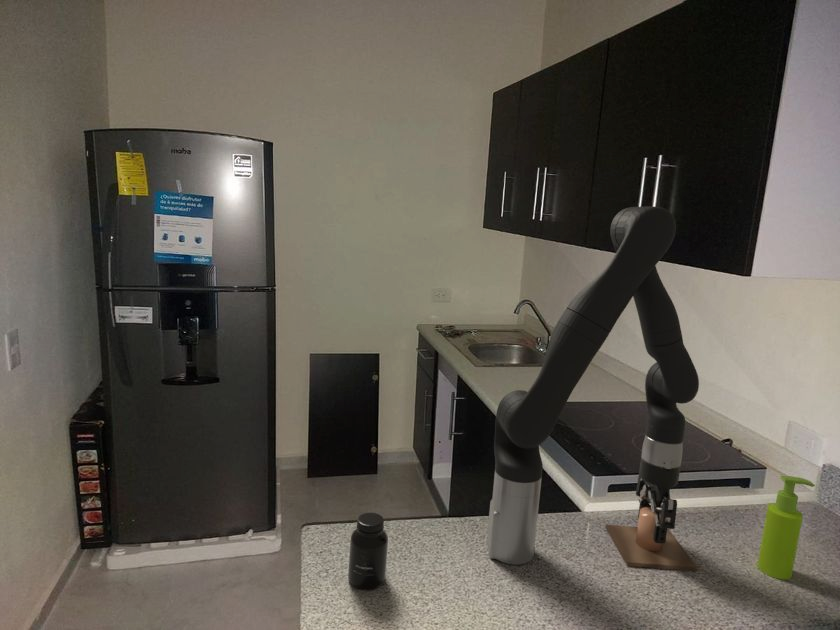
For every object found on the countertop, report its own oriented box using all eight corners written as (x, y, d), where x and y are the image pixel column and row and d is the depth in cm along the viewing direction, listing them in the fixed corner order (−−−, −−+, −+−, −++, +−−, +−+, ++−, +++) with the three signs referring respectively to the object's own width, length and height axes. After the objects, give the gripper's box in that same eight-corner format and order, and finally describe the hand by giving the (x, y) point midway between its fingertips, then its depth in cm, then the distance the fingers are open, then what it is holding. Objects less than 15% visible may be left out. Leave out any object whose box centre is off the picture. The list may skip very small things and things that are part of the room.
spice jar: (640, 550, 114) (645, 519, 113) (632, 536, 119) (636, 506, 118) (665, 552, 114) (670, 521, 112) (656, 538, 119) (661, 508, 118)
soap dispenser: (802, 582, 107) (821, 487, 104) (764, 576, 109) (781, 482, 106) (789, 565, 113) (806, 474, 110) (752, 559, 114) (768, 469, 111)
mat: (627, 565, 109) (627, 562, 109) (605, 527, 123) (605, 524, 123) (697, 570, 109) (697, 567, 109) (667, 532, 123) (668, 529, 123)
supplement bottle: (356, 595, 96) (359, 532, 94) (342, 573, 102) (345, 513, 100) (391, 585, 99) (395, 524, 97) (377, 564, 105) (380, 506, 103)
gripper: (630, 443, 120) (621, 512, 123) (656, 472, 106) (646, 549, 109) (664, 446, 120) (655, 514, 123) (695, 475, 106) (684, 551, 108)
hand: (650, 530), depth 116 cm, fingers open, 8 cm apart
